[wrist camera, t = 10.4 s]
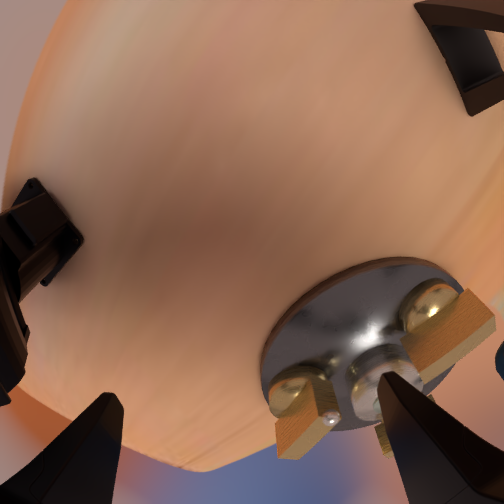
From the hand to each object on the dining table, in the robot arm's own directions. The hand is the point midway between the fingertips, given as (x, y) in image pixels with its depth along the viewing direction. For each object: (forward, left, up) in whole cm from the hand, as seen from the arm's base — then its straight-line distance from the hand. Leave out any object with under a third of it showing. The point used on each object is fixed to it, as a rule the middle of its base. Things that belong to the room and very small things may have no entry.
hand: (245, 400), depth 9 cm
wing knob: (-4, -12, -10) cm, 16 cm away
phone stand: (+22, +3, -12) cm, 26 cm away
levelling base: (+2, -15, -12) cm, 19 cm away
